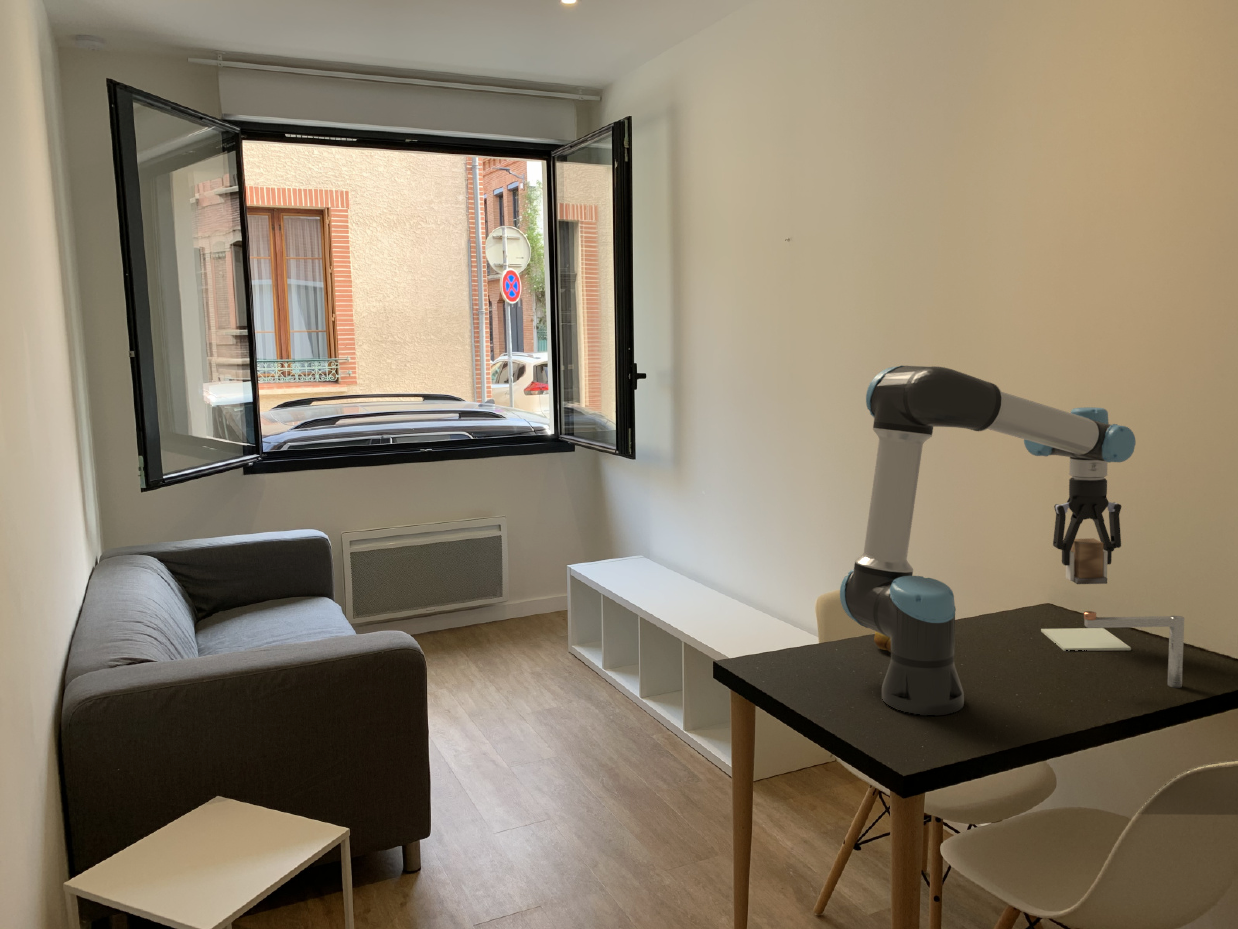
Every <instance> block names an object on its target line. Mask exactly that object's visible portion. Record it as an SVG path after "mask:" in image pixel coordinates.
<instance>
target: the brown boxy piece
mask: <svg viewBox="0 0 1238 929" xmlns="http://www.w3.org/2000/svg"><path fill="white" fill-rule="evenodd" d="M1071 551H1073V552H1074V581H1072V582H1073V583H1074V584H1075V585H1101V584H1102V585H1105V584H1106V585H1108V577H1107V578H1106V577H1104V576H1103V543H1102V542H1101V541H1099V540H1098V539H1096V538H1091V537H1090V538H1075V540H1074V543H1073V545H1072V548H1071Z"/></svg>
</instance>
